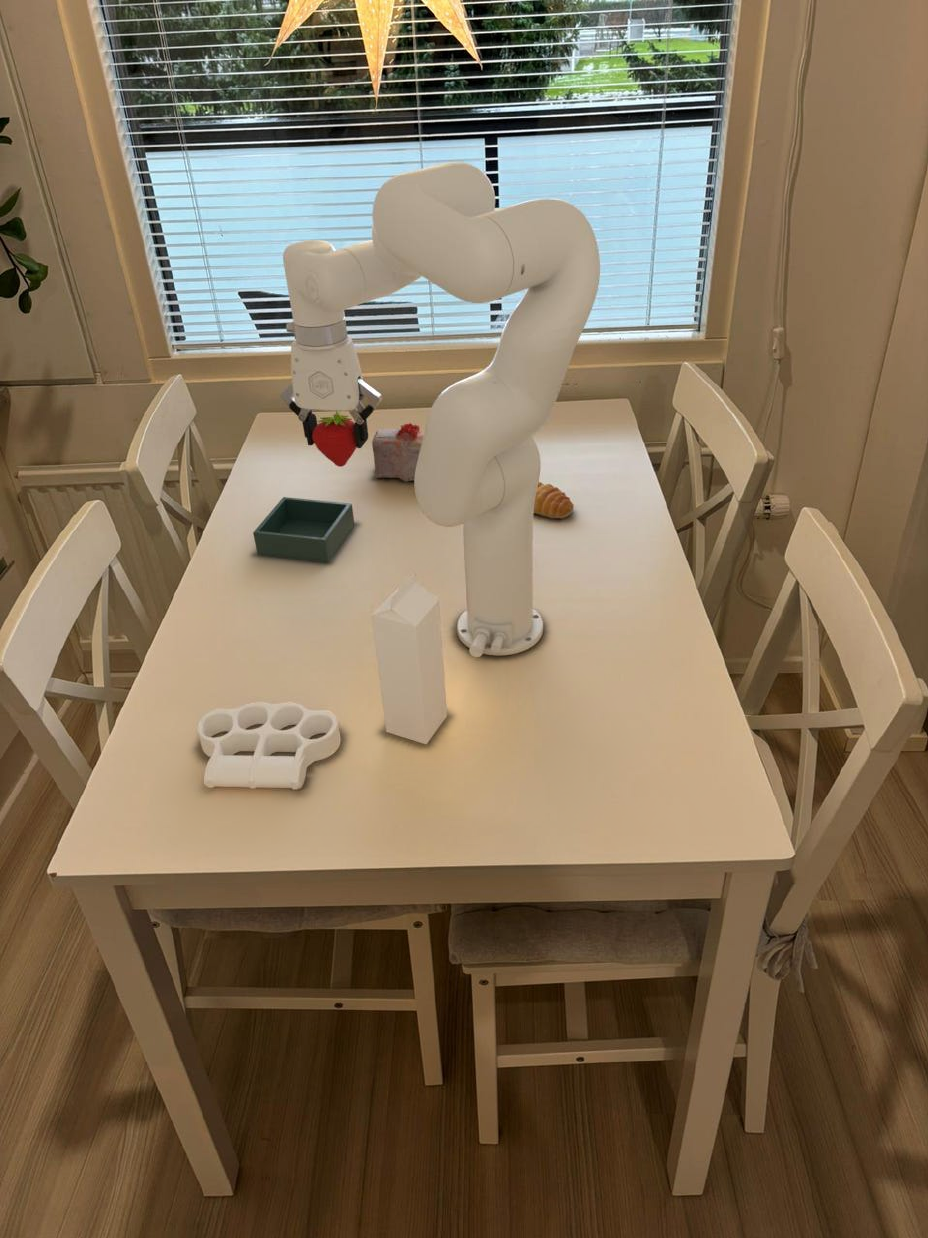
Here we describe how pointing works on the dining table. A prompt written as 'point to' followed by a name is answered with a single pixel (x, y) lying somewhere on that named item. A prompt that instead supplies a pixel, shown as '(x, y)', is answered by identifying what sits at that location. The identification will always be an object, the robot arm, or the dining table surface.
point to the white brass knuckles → (265, 744)
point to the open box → (304, 529)
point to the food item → (397, 452)
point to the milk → (411, 662)
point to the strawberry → (335, 438)
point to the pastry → (552, 502)
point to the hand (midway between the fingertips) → (337, 442)
